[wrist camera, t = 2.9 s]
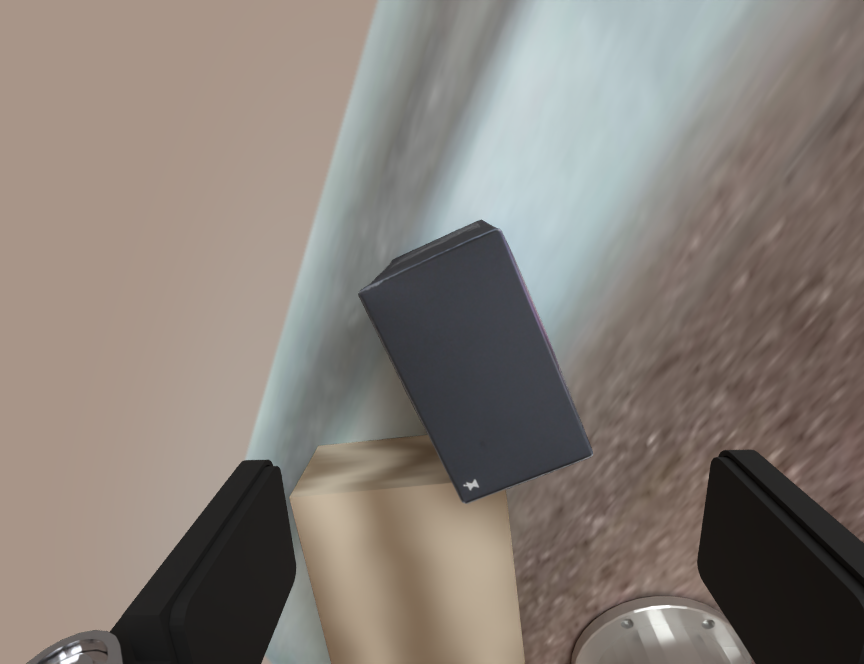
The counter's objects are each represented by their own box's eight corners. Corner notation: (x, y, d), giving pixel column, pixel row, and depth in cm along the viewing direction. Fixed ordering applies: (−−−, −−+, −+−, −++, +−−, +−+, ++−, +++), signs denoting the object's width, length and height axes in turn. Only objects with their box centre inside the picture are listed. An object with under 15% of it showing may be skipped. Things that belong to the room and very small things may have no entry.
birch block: (495, 425, 31) (504, 478, 25) (514, 596, 35) (526, 676, 29) (319, 443, 32) (289, 497, 26) (356, 607, 36) (337, 686, 30)
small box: (553, 371, 29) (604, 461, 19) (458, 409, 30) (459, 513, 20) (488, 213, 27) (506, 222, 17) (387, 260, 28) (347, 295, 18)
